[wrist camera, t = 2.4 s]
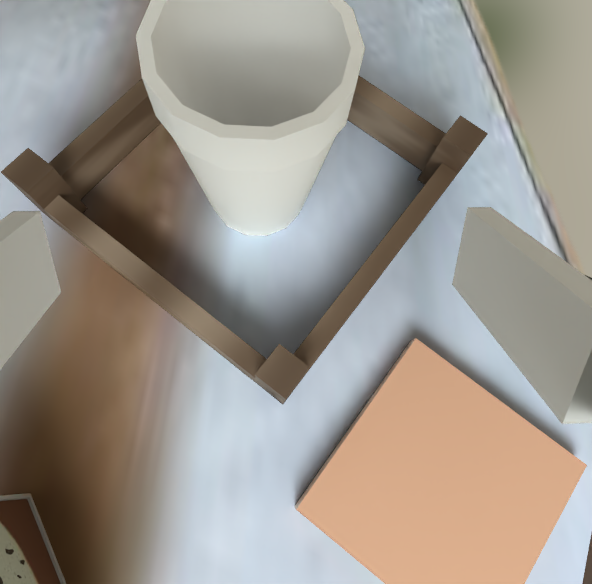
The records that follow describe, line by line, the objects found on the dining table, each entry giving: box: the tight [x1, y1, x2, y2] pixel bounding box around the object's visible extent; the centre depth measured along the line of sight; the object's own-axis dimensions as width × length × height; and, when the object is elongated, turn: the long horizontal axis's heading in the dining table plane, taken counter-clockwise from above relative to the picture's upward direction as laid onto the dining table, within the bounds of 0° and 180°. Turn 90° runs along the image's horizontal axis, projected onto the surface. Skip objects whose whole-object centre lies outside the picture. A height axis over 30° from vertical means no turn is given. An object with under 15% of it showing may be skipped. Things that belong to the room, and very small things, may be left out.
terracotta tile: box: [295, 338, 587, 584], centre depth 26 cm, size 12×12×1 cm
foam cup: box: [136, 0, 365, 236], centre depth 25 cm, size 10×9×13 cm
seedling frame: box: [1, 75, 488, 404], centre depth 29 cm, size 20×20×5 cm
